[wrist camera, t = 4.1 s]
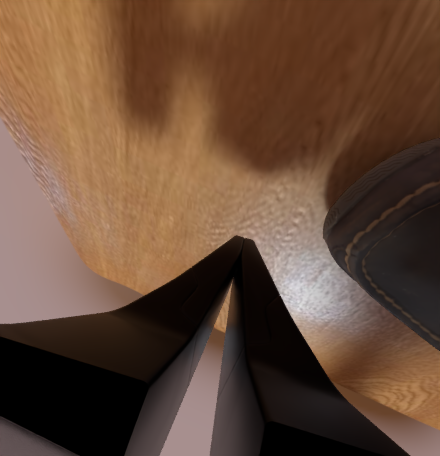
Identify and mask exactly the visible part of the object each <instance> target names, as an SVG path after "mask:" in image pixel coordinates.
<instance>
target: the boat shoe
mask: <svg viewBox="0 0 440 456" xmlns="http://www.w3.org/2000/svg"><path fill="white" fill-rule="evenodd" d="M323 239H324V240H325V242H326V243H327V245H328V248H329V251H330V253H331V255H332V257H333V258H334V260H335V261H336V263H337V264H338V265H339V266H340V267H341V268H342V269H343V270H344V271H345V272H346V273H347V274H348V275H349V276H350V277H351V278H352V279H354V280H355V281H356V282H357V283H358V284H359V285H360V287H362V288H363V289H364V290H365V291H366V292H367V293H368V294H369V295H370V296H371V297H372V298H374V299H375V300H376V301H377V302H378V303H380V304H381V305H382V306H383V307H385V308H386V309H387V310H388V311H389V312H391V313H392V314H393V315H394V316H396V317H397V318H398V319H399V320H401V321H402V322H403V323H404V324H406V325H407V326H408V327H409V328H411V329H412V330H413V331H414V332H416V333H417V334H418V335H419V336H421V337H422V338H423V339H424V340H426V341H427V342H428V343H430V344H431V345H432V346H433V347H435V348H436V349H437V350H439V351H440V138H437V139H433V140H429V141H426V142H423V143H420V144H418V145H415V146H413V147H410V148H408V149H405V150H403V151H401V152H399V153H397V154H395V155H393V156H392V157H390V158H388V159H386V160H385V161H383V162H381V163H380V164H378V165H377V166H375V167H374V168H373V169H371V170H370V171H368V172H367V173H366V174H364V175H363V176H362V177H361V178H359V179H358V180H357V181H356V182H355V183H354V184H353V185H352V186H350V187H349V188H348V189H347V190H346V191H345V192H344V193H343V194H342V195H341V196H340V197H339V199H338V200H337V202H336V203H335V204H334V205H333V206H332V207H331V209H330V211H329V212H328V214H327V216H326V218H325V222H324V227H323Z"/></svg>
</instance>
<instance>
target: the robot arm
mask: <svg viewBox="0 0 440 456" xmlns="http://www.w3.org/2000/svg"><path fill="white" fill-rule="evenodd" d="M233 277H234V278H233ZM232 281H233V282H232ZM231 284H232V288H231V296H230V304H229V311H228V319H227V327H226V334H225V342H224V350H223V357H222V365H221V374H220V380H219V388H218V396H217V403H216V411H215V419H214V426H213V434H212V442H211V450H210V456H410V455H409V454H408V453H407V452H405V451H404V450H403V449H402V448H401V447H399V446H398V445H397V444H396V443H395V442H394V441H393V440H392V439H390V438H389V437H388V436H387V435H386V434H385V433H384V432H382V431H381V430H380V429H379V428H378V427H377V426H375V425H374V424H373V423H372V422H371V421H370V420H369V419H367V418H366V417H365V416H364V415H363V414H361V413H360V412H359V411H358V410H357V409H356V408H355V407H354V406H353V405H351V404H350V403H349V402H348V401H347V400H346V399H345V398H344V397H343V396H342V394H341V393H340V392H339V391H338V390H337V388H336V387H335V386H334V384H333V383H332V382H331V380H330V379H329V377H328V376H327V374H326V373H325V371H324V370H323V368H322V366H321V365H320V363H319V361H318V360H317V358H316V357H315V355H314V353H313V352H312V350H311V349H310V347H309V345H308V344H307V342H306V341H305V339H304V337H303V336H302V334H301V332H300V331H299V329H298V327H297V326H296V324H295V322H294V321H293V319H292V317H291V315H290V313H289V312H288V310H287V308H286V306H285V304H284V302H283V300H282V298H281V296H279V295H280V294H279V292H278V290H277V288H276V286H275V284H274V281H273V279H272V277H271V275H270V273H269V271H268V269H267V267H266V265H265V263H264V261H263V259H262V257H261V255H260V253H259V251H258V249H257V247H256V245H255V242H254V241H253V240H251V239H247V238H245V239H244V237H240V236H237V235H236V236H234V237H233V238H232V239H230V240H229V241H227V242H226V243H225V244H223V245H222V246H220V247H219V248H218V249H216V250H215V251H213V252H212V253H211V254H209V255H208V256H206V257H205V258H204V259H202V260H201V261H199V262H198V263H197V264H195V265H194V266H192V268H190V269H188V270H187V271H185V272H184V273H182V274H181V275H179V276H178V277H176V278H175V279H173V280H171V281H170V282H168V283H166V284H165V285H163V286H161V287H159V288H157V289H156V290H154V291H152V292H150V293H148V294H147V295H145V296H143V297H141V298H139V299H138V300H136V301H134V302H132V303H130V304H129V305H126V306H124V307H122V308H119V309H116V310H113V311H109V312H105V313H97V314H89V315H81V316H74V317H66V318H58V319H50V320H42V321H34V322H26V323H16V324H0V456H159V455H160V453H161V450H162V448H163V445H164V443H165V441H166V439H167V436H168V434H169V431H170V429H171V427H172V424H173V422H174V420H175V417H176V415H177V412H178V410H179V407H180V405H181V403H182V400H183V398H184V396H185V393H186V391H187V388H188V386H189V384H190V381H191V379H192V377H193V374H194V372H195V370H196V367H197V365H198V362H199V360H200V358H201V355H202V353H203V351H204V348H205V346H206V343H207V341H208V339H209V336H210V333H211V332H212V329H213V327H214V324H215V322H216V320H217V317H218V315H219V313H220V310H221V308H222V305H223V303H224V301H225V298H226V296H227V294H228V291H229V289H230V286H231Z"/></svg>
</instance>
